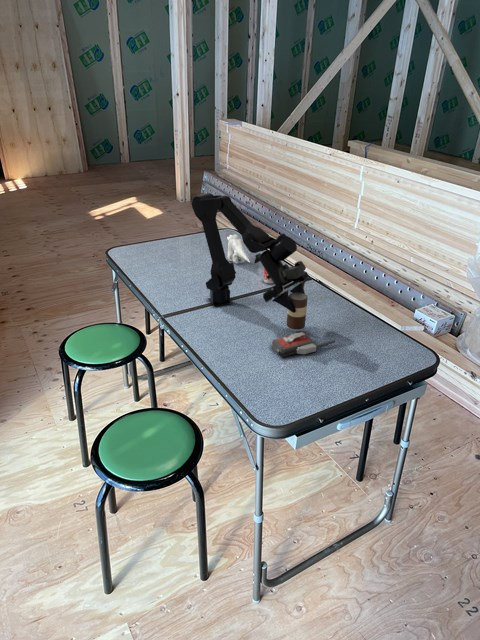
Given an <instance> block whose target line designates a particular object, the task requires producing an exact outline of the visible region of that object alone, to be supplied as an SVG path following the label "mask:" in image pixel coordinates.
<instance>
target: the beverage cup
mask: <svg viewBox="0 0 480 640" xmlns="http://www.w3.org/2000/svg"><path fill="white" fill-rule="evenodd" d="M262 267H263V266H262ZM267 276H268V273H267V272H266V270H265V268H264V267H263V282H264V283H265V284H274V283H273V281H272V279H271V278H269V279H268V278H267Z"/></svg>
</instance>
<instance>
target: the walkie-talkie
mask: <svg viewBox="0 0 480 640" xmlns="http://www.w3.org/2000/svg"><path fill="white" fill-rule="evenodd" d="M335 343H336V340H335V339H332V340H329V341H326V342H322V343H319V344H317V343H316V344H314V341H313V339H312V338H311V337H310V336H309V335H308V334H305V333H304V332H303V331H299V332H296V333H295V332H294V333H292V334H290V335H287V336H283V337H280V338H275V339H272V341H271V349H272V350H274V351H275V352H276V353H277V355H278V356H280V357H283V358H284V357H287V356H290V355H294V354H297V355H307V354H311V353H315V352H317V350H318V349H320V348H323V347H326V346H329V345H332V344H335Z"/></svg>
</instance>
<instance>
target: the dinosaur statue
mask: <svg viewBox="0 0 480 640" xmlns="http://www.w3.org/2000/svg"><path fill="white" fill-rule="evenodd" d="M226 239H227V242H228V244H227V253H226V255H227V260H228V261H229V262H232V263H233V264H239V261H240V262H241V263H245V262H248V263H251V261H250V259H249V257H248V254H247V253H246V249H245V248H244V247H243V239H241V238H240V236H239V235H237V234H236V233H234V234H229V236H226Z"/></svg>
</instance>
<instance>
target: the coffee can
mask: <svg viewBox="0 0 480 640" xmlns="http://www.w3.org/2000/svg"><path fill="white" fill-rule="evenodd" d="M288 296H289V298H290V300H291V302H292V303H293V305H294V307H295V309H296V312H295V313H293V312H292V311H290V310H288V309H286V311H287V312H286V313H287V314H286V327H287V328H288V329H291V330H293V331H294V330H295V331H298V330H303V329H304V328H305V327H306V320H307V319H306V317H307V311H308V299H309V298H308V295H307V294H306V293H305V294H304V293H300V292H295V293H291V292H290V293H288Z"/></svg>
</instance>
